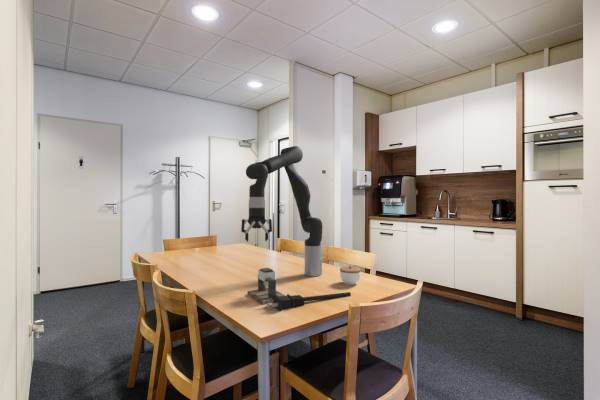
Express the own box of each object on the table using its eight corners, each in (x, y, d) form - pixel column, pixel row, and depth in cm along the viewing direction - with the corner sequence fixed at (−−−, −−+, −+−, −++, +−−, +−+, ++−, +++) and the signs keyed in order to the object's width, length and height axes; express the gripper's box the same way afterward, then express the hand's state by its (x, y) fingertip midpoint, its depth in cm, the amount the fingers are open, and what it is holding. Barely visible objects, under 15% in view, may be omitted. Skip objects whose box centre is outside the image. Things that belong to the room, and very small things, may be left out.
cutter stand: (247, 294, 148) (247, 275, 148) (270, 290, 154) (270, 271, 154) (261, 304, 135) (261, 283, 134) (286, 299, 141) (286, 279, 141)
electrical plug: (261, 306, 133) (261, 294, 133) (344, 296, 151) (344, 286, 151) (268, 313, 125) (269, 300, 125) (354, 302, 143) (355, 291, 143)
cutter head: (258, 284, 146) (258, 268, 146) (268, 283, 149) (268, 267, 149) (264, 288, 140) (264, 271, 140) (274, 287, 143) (274, 270, 143)
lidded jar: (361, 281, 170) (361, 264, 170) (359, 287, 160) (359, 268, 160) (341, 279, 173) (341, 262, 173) (338, 285, 163) (338, 267, 163)
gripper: (271, 206, 154) (271, 239, 154) (241, 206, 152) (241, 240, 152) (272, 207, 146) (272, 242, 146) (241, 207, 144) (240, 242, 144)
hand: (256, 241), depth 149 cm, fingers open, 8 cm apart
